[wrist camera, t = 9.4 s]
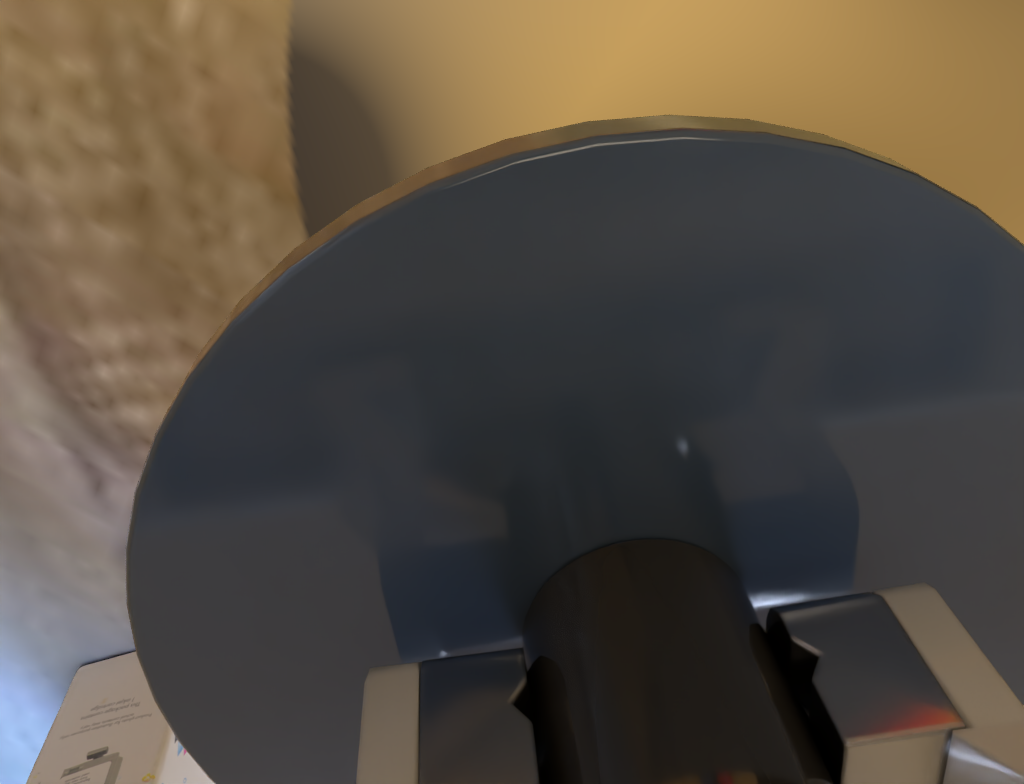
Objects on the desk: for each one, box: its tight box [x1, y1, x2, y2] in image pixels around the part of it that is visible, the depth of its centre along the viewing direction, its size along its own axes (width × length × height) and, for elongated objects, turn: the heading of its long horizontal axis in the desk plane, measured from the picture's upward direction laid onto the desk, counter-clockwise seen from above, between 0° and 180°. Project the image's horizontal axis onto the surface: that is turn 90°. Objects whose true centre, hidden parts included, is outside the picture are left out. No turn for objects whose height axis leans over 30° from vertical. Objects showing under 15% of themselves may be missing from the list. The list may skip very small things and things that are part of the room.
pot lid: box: [125, 115, 1024, 784], centre depth 8 cm, size 10×10×4 cm
